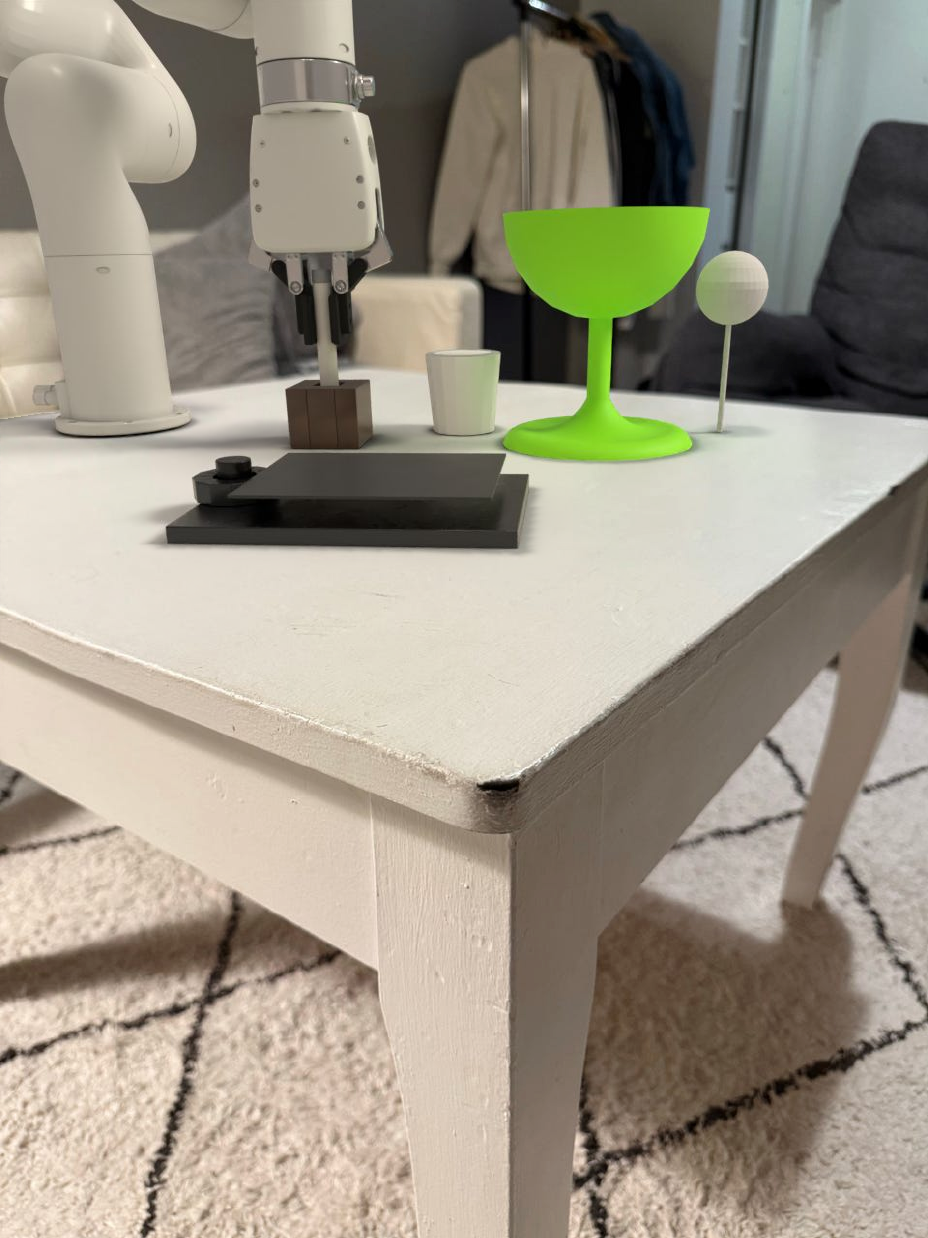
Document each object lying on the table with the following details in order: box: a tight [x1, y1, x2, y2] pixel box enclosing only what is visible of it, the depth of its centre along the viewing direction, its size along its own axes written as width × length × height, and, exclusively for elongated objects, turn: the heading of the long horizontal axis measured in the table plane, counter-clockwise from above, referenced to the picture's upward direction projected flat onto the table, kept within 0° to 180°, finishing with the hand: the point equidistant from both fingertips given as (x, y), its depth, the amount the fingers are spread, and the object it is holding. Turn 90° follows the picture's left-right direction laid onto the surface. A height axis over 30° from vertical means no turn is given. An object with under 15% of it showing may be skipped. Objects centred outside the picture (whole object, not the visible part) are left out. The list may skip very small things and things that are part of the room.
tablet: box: [165, 465, 530, 550], centre depth 57 cm, size 21×14×2 cm
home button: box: [214, 455, 253, 480], centre depth 57 cm, size 2×2×1 cm
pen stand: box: [284, 379, 374, 450], centre depth 80 cm, size 6×6×5 cm
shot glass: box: [424, 348, 502, 436], centre depth 84 cm, size 7×7×7 cm
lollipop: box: [695, 250, 769, 433], centre depth 79 cm, size 6×6×15 cm
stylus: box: [310, 268, 340, 386], centre depth 77 cm, size 2×2×12 cm
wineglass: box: [501, 205, 711, 462], centre depth 75 cm, size 16×16×18 cm
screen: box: [227, 452, 507, 501], centre depth 56 cm, size 15×12×1 cm
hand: (326, 341), depth 77 cm, fingers closed on stylus, 1 cm apart
